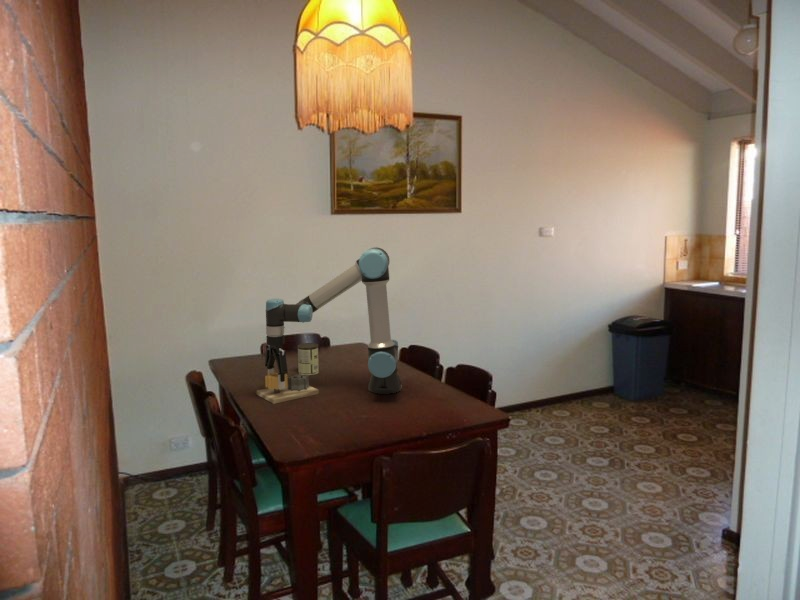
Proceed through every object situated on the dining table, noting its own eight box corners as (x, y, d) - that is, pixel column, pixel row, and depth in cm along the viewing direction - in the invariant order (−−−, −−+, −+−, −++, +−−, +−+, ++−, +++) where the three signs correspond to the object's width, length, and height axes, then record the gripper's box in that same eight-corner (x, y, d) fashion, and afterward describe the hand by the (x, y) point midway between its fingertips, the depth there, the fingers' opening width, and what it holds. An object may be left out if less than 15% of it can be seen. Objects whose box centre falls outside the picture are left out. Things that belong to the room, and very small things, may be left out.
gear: (290, 387, 251) (290, 375, 250) (271, 390, 245) (271, 379, 245) (281, 382, 258) (280, 371, 257) (262, 385, 252) (262, 374, 252)
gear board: (318, 393, 256) (318, 376, 255) (273, 403, 242) (273, 385, 241) (300, 385, 268) (300, 369, 267) (256, 394, 255) (256, 377, 254)
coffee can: (301, 369, 296) (300, 342, 294) (321, 370, 295) (320, 343, 293) (295, 375, 286) (295, 347, 284) (316, 375, 285) (315, 347, 283)
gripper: (295, 338, 242) (296, 390, 246) (271, 329, 259) (272, 378, 262) (279, 340, 238) (280, 393, 241) (256, 331, 254) (257, 381, 257)
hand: (276, 385), depth 251 cm, fingers closed on gear, 9 cm apart
